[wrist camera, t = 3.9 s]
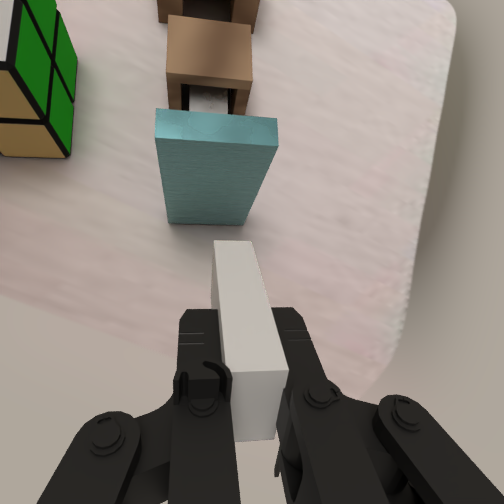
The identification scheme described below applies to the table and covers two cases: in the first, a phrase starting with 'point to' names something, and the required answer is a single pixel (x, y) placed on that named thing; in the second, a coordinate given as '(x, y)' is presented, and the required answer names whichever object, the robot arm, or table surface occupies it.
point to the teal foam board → (212, 158)
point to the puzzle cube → (35, 80)
